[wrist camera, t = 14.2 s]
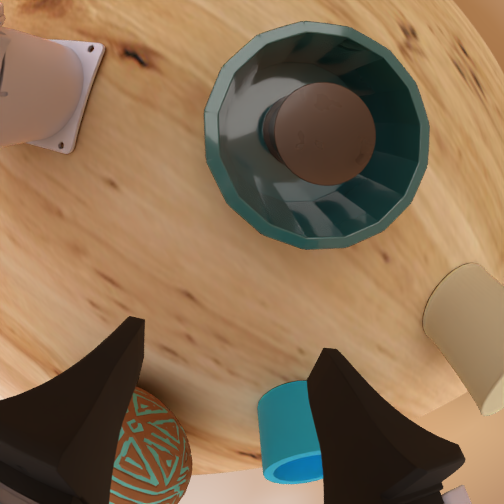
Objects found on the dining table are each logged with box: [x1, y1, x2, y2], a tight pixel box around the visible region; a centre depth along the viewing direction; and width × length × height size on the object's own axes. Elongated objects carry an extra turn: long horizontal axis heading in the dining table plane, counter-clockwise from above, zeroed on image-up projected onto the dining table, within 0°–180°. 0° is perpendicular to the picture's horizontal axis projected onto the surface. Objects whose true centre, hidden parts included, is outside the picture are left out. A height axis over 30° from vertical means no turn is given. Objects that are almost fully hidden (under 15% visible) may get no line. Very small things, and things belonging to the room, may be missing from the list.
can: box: [423, 263, 504, 416], centre depth 19 cm, size 9×9×12 cm
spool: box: [263, 82, 376, 186], centre depth 14 cm, size 5×5×6 cm
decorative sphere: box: [109, 386, 192, 504], centre depth 20 cm, size 15×15×15 cm
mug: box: [257, 381, 323, 484], centre depth 24 cm, size 12×8×8 cm
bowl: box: [204, 21, 430, 250], centre depth 14 cm, size 10×10×7 cm
